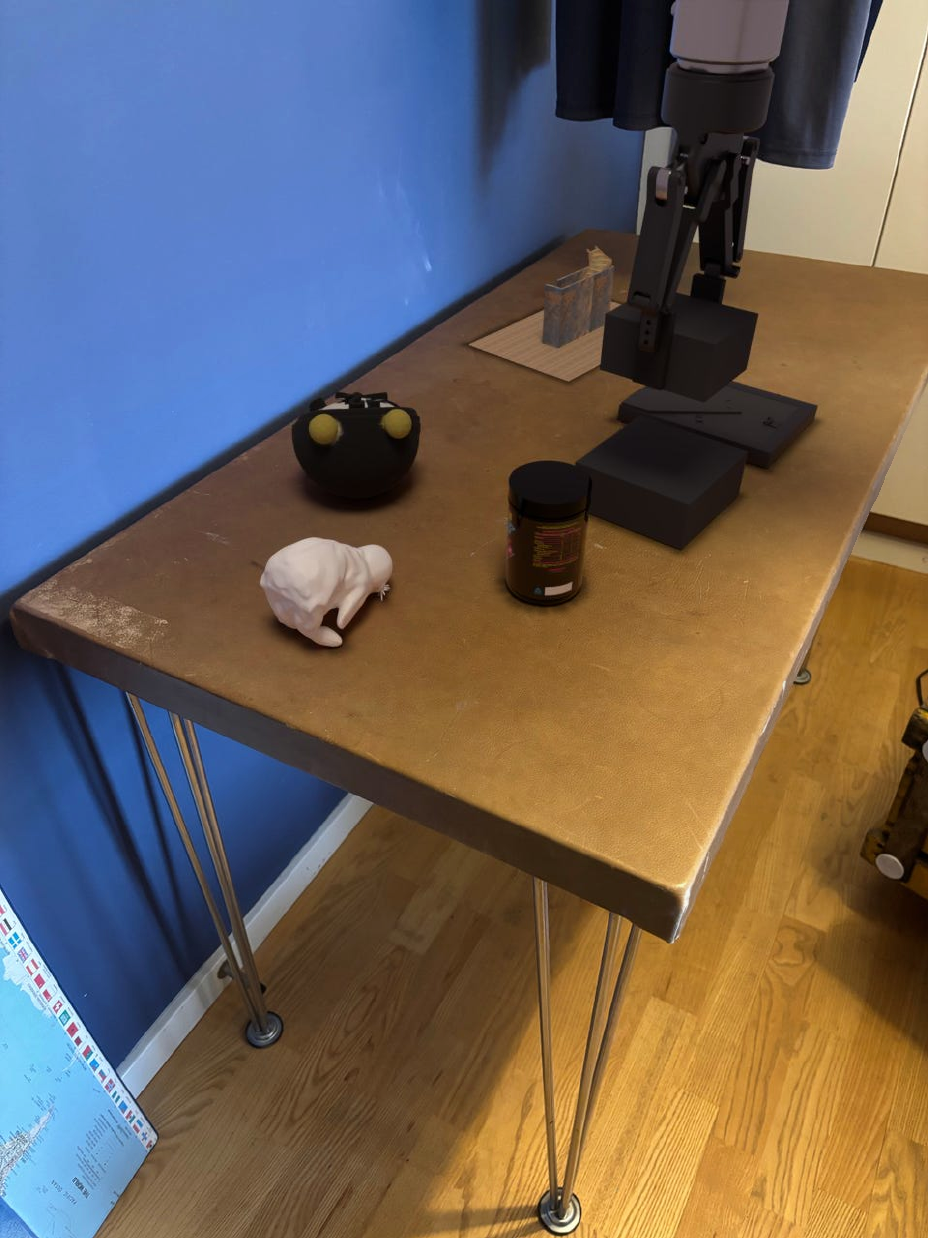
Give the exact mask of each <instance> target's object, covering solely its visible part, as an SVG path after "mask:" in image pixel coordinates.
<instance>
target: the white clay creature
mask: <svg viewBox="0 0 928 1238" xmlns="http://www.w3.org/2000/svg"><path fill="white" fill-rule="evenodd" d="M393 567H394V565H393V560H392V557H391V555H390V554H389V552H388V551H387V549H385V548H384V547H383V546H381V545H379V544H368V545H362V546H359V547H354V546H351V545H349V544H347V543H341V542H339V541H337V540H335V539H328V538H327V539H326V538H322V537H317V536H316V537H315V536H312V537H308V538H304V539H301V540H299V541H296V542H294V543H291V544H289V545H286V546H285V547H283V548H281V549H280V550H278V551H277V552H275V553H274V554H273V555H271V557H269V558H268V560H267V562H266V564H265V568H264V570H263V572H262V574H261V576H260V580H259V586H260V587H261V589H262V590H263V592H264V593H265V597H266V599H267V602H268V604H269V606H270V608H271V610H272V611H273V614H274V616H275V617H276V618H277V620H278V621H279V622H280V623H282V624H284V625H285V626H287V627H288V628H290V629H295V630H298V631H299V632H300V633H301V634H302V635H303V636H305V637H306V638H309V639H310V640H312V641H313V642H315V643H316V644H318V645H321V646H325V647H332V648H335V647H336V648H337V647H339V646H341V645H342V644H343V638H342V637H341V636H340V635H339V633H337V632H336V631H334V630H333V629H332V628H331V627H328V626H325V625H322V622H323V619H324V616H325V615H326V614H327V613H328V612H329V611H330V610H331V609H333V610H334V609H336V608H337V609H338V614H337V618H336V626H337V627H338V628H339V629H341V630H344V629H345V628H346V626H347V625H348V624H349V623H350V621H351V620H352V619H353V617H355V614H357V612H358V611H359V610H360V608H361V607H362V606H363V605H364V604H365V602H366V599H367V598H368V596H369V595H371V594H373V593H378V594H377V596H379V595H380V600H381V601H383V595H384V596H385V595H386V594H385V591H386V592H387V591H388V592H389V590H391V588H390V587H389V586H390V585H389V584H387V583H388V581H389V580H390V578H391V576H392V574H393Z"/></svg>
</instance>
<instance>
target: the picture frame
mask: <svg viewBox="0 0 928 1238" xmlns="http://www.w3.org/2000/svg"><path fill="white" fill-rule="evenodd" d="M818 407H819V405H818V404H814V403H812V402H811V403H810V402H807V401H804V400H800V399H796V398H793V397H789V396H786V395H783V394H779V393H775V392H772V391H769V390H766V389H761V388H758V387H754V386H751V385H748V384H744V383H741V382H738V381H735V380H733V381H731V382H730V383H729V384H728V385H726V386H725V387H724V388H722V389H721V390H720V391H719V392H717V393H716V394H715V395H714V396H712V397H711V398H710V399H708V400H707V401H706V402H705V403H703V402H700V401H697V400H694V399H691V398H687V397H684V396H681V395H678V394H675V393H672V392H669V391H665V390H661V391H660V390H657V389H654V388H651V387H648V386H642V388H638V389H636V390H635V391H634V392H632V394H629V396H627V397H626V398H625V399H623V400H622V401H621V402H620V404H619V405H618V413H617V421H619V422H622V423H625V424H628V423H630V422H631V421H633V420H634V419H635V418H637V417H638V416H643V417H646V418H649V419H652V420H655V421H658V422H661V423H664V424H667V425H670V426H673V427H676V428H679V429H682V430H685V431H688V432H691V433H694V434H697V435H700V436H703V437H706V438H709V439H712V440H715V441H718V442H721V443H724V444H727V445H730V446H733V447H736V448H739V449H742V450H745V451H748V455H747V459H746V463H747V464H751V465H753V466H757V467H760V468H763V469H768V468H769V467H770V466H771V465H772V464H773V463H774V462H775V461H776V460H777V459H778V458H779V457H780V456H781V454H783V453H784V452H785V451H786V450H787V449H788V448H789V446H791V445H792V444H793V443H794V442H795V441H796V439H798V438H799V437H800V435H801V434H803V432H804V431H806V430H807V428H809V426H810V425H811V424H812V423H813V422H814V421H815V417H816V413H817V410H818Z"/></svg>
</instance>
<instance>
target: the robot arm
mask: <svg viewBox="0 0 928 1238" xmlns="http://www.w3.org/2000/svg"><path fill="white" fill-rule="evenodd" d="M789 3H790V0H675V1H674V2H673V3H672V5H671V8H670V14H671V15H672V16H673V20H672V29H671V37H670V43H669V44H670V45H669V53H670V54H671V56H672V57H673V58H676V61H674V62H672V63H671V64H669V67H667V68H666V69H665V70H666V71H665V77H664V87H663V95H662V103H661V111H660V116H661V117H660V118H661V119H662V121H663V123H664V124H665V125H667V126H669V127H671V128H673V130H674V131H675V133H676V137H675V140H674V144H673V148H672V152H671V154H670V157H669V163H668V164H667V165H666V166H664V167H663V166H657V165H652V166H650V168H649V169H648V171H647V175H646V190H645V191H646V192H645V193H646V194H645V205H644V211H643V216H642V219H641V220H642V221H641V226H640V231H639V235H638V241H637V246H636V251H635V257H634V262H633V266H632V271H631V276H630V280H629V281H630V282H629V287H628V292H627V296H626V302H627V305H628V306H631V307H634V308H638V309H641V318H640V325H639V333H638V341H637V349H636V357H635V364H634V372H633V380H631V381H632V383H634V384H638V385H642V386H643V387H645V386H648V387H651V388H654V389H657V390H660V391H661V390H662V389H664V388H665V384H666V378H667V371H668V364H669V358H670V351H671V345H672V338H673V333H674V326H675V320H676V313H677V311H676V310H672V309H671V308H672V304H673V301H674V298H675V295H676V292H677V293H678V290H679V285H680V282H681V279H682V276H683V273H684V270H685V268H686V267H685V266H686V263H687V260H688V258H689V254H690V252H691V248H692V245H693V242H694V239H695V235H696V233H698V234H697V235H698V236H697V237H698V255H699V256H698V257H699V259H698V260H699V270H700V271H701V272H703V273H700V272H696V273H694V274H693V275H692V280H691V288H690V292H689V293H690V294H689V296H693V297H696V298H700V299H704V300H708V301H712V302H716V303H720V304H723V300H724V295H725V289H726V284H727V279H726V278H731V279H738V277H739V275H740V273H741V269H742V267H741V266H739V265H735V264H739V263H740V262H741V261H742V259H743V256H744V248H745V240H746V232H747V224H748V217H749V207H750V201H751V200H750V199H751V192H752V183H753V175H754V168H755V165H756V161H757V157H758V153H759V149H760V144H761V141H760V138H758V137H753V136H748V135H744V134H746V133H751V132H754V131H756V130H758V129H761V128H762V127H763V125H764V124H765V123H766V120H767V116H768V112H769V106H770V101H771V96H772V90H773V85H774V80H775V72H774V71H773V68H772V67H771V66H770V65H769V63H770V62H773V61H775V60H776V59H777V58H778V57H779V56H780V53H781V48H782V42H783V38H784V37H783V36H784V33H785V32H784V31H785V27H786V20H787V14H788V9H789V8H788V7H789ZM697 231H698V232H697ZM733 263H734V264H733Z"/></svg>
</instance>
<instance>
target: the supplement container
mask: <svg viewBox="0 0 928 1238" xmlns="http://www.w3.org/2000/svg"><path fill="white" fill-rule="evenodd" d="M507 488H508V490H507V503H508V504H507V529H506V557H505V559H506V560H505V582H506V584H507V587H508V589H509V590H510V591H511V593H513V594H514V595H515V596H516V597H518V599H521V600H522V601H524V602H526V603H529V604H534V605H538V606H539V605H541V606H549V605H551V606H552V605H558V604H561V603H564V602H566V601H568V600H570V599H571V598H572V597H574V596H575V595H576V594H577V593H578V592H579V590H580V588H581V586H582V585H583V584H582V583H583V577H584V567H585V566H584V565H585V555H586V547H587V546H586V545H587V535H588V526H589V517H590V513H589V508H590V504H591V492H592V480H591V478H590V476H589V475H588V474H587V473H586V472H585V471H584V470H582V469H581V468H579V467H577V466H575V464H573V463H570V462H566V461H560V460H549V459H547V460H546V459H545V460H536V461H531V462H530V461H529V462H527V463H524V464H522V465H520V466H518V467H516V468H515V469H514V470H513V471H512V472H511V473H510V475H509V477H508V487H507Z"/></svg>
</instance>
